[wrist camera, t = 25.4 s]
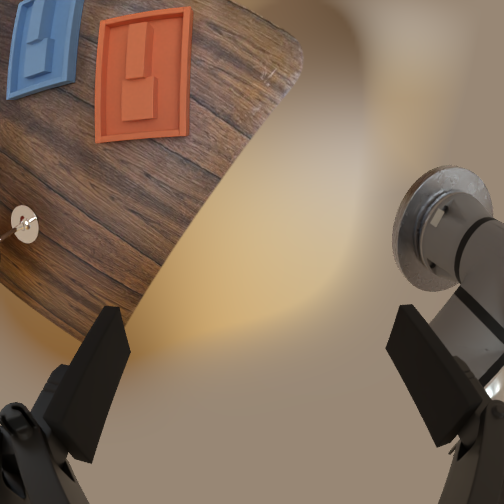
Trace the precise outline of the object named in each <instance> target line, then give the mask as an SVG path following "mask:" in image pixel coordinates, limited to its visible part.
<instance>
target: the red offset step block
mask: <svg viewBox="0 0 504 504" xmlns="http://www.w3.org/2000/svg"><path fill="white" fill-rule="evenodd" d="M153 34H154V28H153V27H152V26H151V25H150V24H149V23H148V22H141V23H135V24H129V32H128V43H127V57H126V76H125V79H126V80H122V110H121V118H122V121H136V120H147V119H157V96H158V78H156V77H154V76H151V67H152V48H153Z"/></svg>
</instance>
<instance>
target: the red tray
mask: <svg viewBox="0 0 504 504" xmlns="http://www.w3.org/2000/svg"><path fill="white" fill-rule="evenodd" d="M141 22H148V23H149V24H150V25H151V26H152V27H153V28H154V34H153V48H152V67H151V76H154V77H156V78H158V96H157V119H147V120H136V121H122V118H121V110H122V80H126V79H125V76H126V57H127V43H128V32H129V24H135V23H141ZM192 27H193V11H192V9H191V7H179V8H170V9H162V10H154V11H148V12H141V13H136V14H130V15H125V16H120V17H116V18H111V19H107V20H102V21H100V28H99V37H98V48H97V61H96V80H95V143H104V142H112V141H122V140H132V139H144V138H158V137H175V136H188V135H189V108H190V68H191V45H192Z"/></svg>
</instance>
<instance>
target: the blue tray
mask: <svg viewBox="0 0 504 504" xmlns="http://www.w3.org/2000/svg"><path fill="white" fill-rule="evenodd" d="M34 1H36V0H24V1H23V2H20V3H19V6H18V10H17V15H16V19H15V25H14V30H13V36H12V42H11V50H10V58H9V67H8V79H7V98H6V99H7V100H16V99H19V98H22V97H25V96H28V95H31V94H34V93H37V92H41V91H44V90H47V89H51V88H54V87H58V86H62V85H66V84H70V83H74V82H75V76H76V60H77V49H78V39H79V30H80V23H81V16H82V10H83V4H84V0H54V1H56V6H55V12H54V17H53V23H52V30H51V37H50V38H51V39H54V40H55V42H54V51H53V62H52V72H51V73H48V74H45V75H42V76H39V77H36V78H33V79H26V78H24V66H25V56H26V48H27V45H29V44H27V36H28V30H29V24H30V19H31V13H32V9H33V4H34Z"/></svg>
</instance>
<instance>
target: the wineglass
mask: <svg viewBox="0 0 504 504" xmlns="http://www.w3.org/2000/svg"><path fill="white" fill-rule="evenodd" d="M11 224H12V229H11V230H9V231H8V232H6V233H5V234H3V235H2V236H0V243H1V242H2V241H3V240H5V239H6V238H8V237H9V236H11V235H12V234H14V233H15V235H16V236H17V238H18V239H19V240H21V241H22V242H24V243H32V242H34V241H35V240H36V238H37V237H38V234H39V222H38V219H37V216H36V214H35V213H34V211H33V210H32V209H31V208H30V207H28V206H26V205H19V206H17V207H16V208H15V209H14V210H13V212H12V216H11ZM0 261H1V253H0Z"/></svg>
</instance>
